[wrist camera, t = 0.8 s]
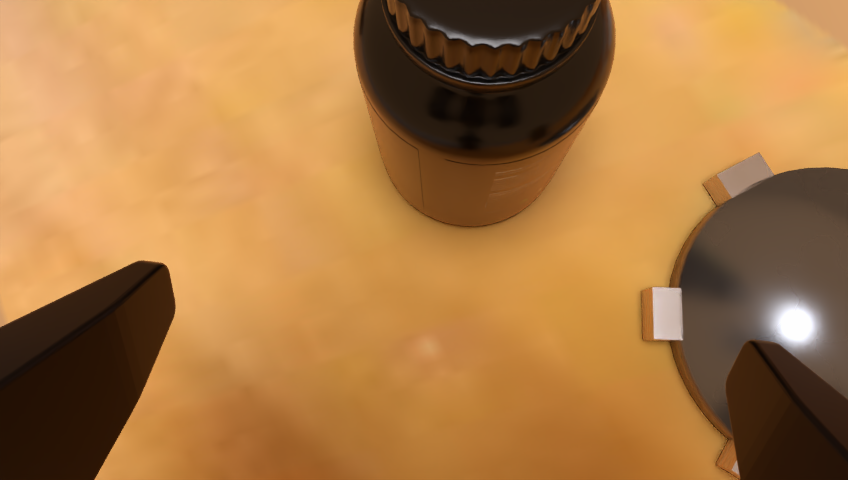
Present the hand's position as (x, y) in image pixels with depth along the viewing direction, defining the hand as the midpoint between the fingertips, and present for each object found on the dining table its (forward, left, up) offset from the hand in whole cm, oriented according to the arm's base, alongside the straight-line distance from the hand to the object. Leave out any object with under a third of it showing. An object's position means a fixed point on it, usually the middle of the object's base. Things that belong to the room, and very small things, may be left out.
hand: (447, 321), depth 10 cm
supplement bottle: (+6, -4, -13) cm, 16 cm away
